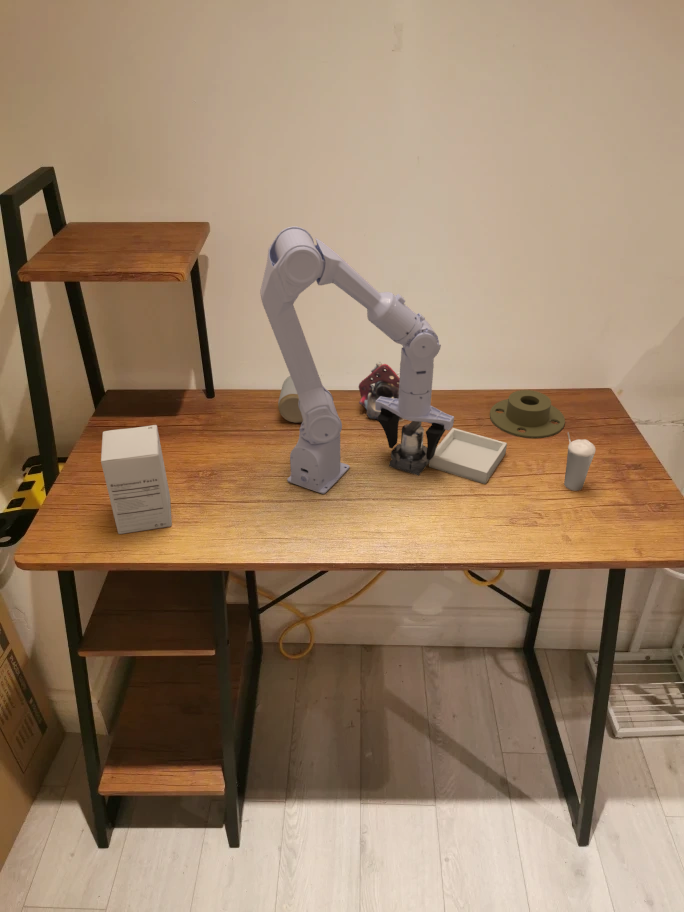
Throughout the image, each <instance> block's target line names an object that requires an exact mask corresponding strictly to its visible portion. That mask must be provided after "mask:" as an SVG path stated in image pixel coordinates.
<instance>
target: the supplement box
mask: <svg viewBox="0 0 684 912" xmlns="http://www.w3.org/2000/svg"><path fill="white" fill-rule="evenodd" d="M101 438H102V440H101V456H100V463H101V467H102V471H103V477H104V480H105V484H106V488H107V492H108V497H109V501H110V505H111V511H112V514H113V519H114V522H115V526H116V530H117V534H118V535H123V534H128V533H129V534H130V533H135V532H143V531H149V530H154V529H155V530H156V529H161V528H167V527H169V528H170V527H172V523H173V522H172V506H171V505H172V504H171V493H170V489H169V483H168V478H167V472H166V467H165V462H164V457H163V452H162V451H163V450H162V445H161V442H160V441H161V439H160V435H159V429H158V425H157V424H153V425H146V426H139V427H129V428H119V429H111V430H105V431H102V437H101Z"/></svg>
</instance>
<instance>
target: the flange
mask: <svg viewBox="0 0 684 912" xmlns="http://www.w3.org/2000/svg"><path fill="white" fill-rule="evenodd" d="M498 411H499V412H498ZM500 412H501V413H500ZM489 418H490V421H491V422H492V424H493V425H494V426H495V427H496V428H497V429H499V430H500V431H502V432H504V433H505V434H509V435H511V436H514V437H519V438H523V439H544V438H549V437H550V438H551V437H552V436H555V435H557V434H559V433H560V432H562V430H563V429H564V427H565V423H566V419H565V416H564V414H563V413H562V411H560V409H558V408H557V407H555V406H554V405H553V404H552V401H551V399H550V397H549V396H548V395H546V394H544V393H542V392H539V391H537V390H531V389H521V390H520V389H519V390H516V391H513V392H512V393H510V394H509V396H508V398H507V399H503V400H500V401H498V402H496V403H495V404H494V405H492V407H491V408H490V411H489ZM553 422H555V423H553ZM520 430H522V431H525V432H521V431H520Z"/></svg>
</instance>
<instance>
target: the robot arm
mask: <svg viewBox="0 0 684 912" xmlns="http://www.w3.org/2000/svg"><path fill="white" fill-rule="evenodd" d="M314 239H315V242H316V244H315V242H314ZM263 273H264V274H263V278H262V281H261V282H262V283H261V288H260V293H259V294H260V299H261V300H260V301H261V303H262V306H263V309H264V311H265V314H266V317H267V319H268V322H269V324H270V326H271V329H272V332H273V335H274V337H275V340H276V342H277V345H278V347H279V350H280V351H281V355H282V357H283V361H284V363H285V365H286V368H287V370H288V372H289V373H288V374H289V376H291V378H292V381H293V383H294V386H295V388H296V391H297V394H298V396H299V402H298V406H299V409H300V411H301V414H302V418H303V422H301V424H300V427H299V435H298V440H297V442H296V445H295V446H294V447H293V448H292V449H291V451H290V454H289V461H290V463H289V464H290V466H289V467H290V476H289V477H287V478H286V481H287V482H288V483H291V484H293V485H297V486H299V487H302V488H304V489H308V490H311V491H314V492H316V493H319V494H322V495H325V494H326V493H327V492H328V491H329V490H331V488H332V487H333V486H334V485H335V484H336V483H337V482H338V481H339V480H340V479H341V478H342V477H343V475H344V474H345V473H346V472H347V471H349V469H350V465H349V464H346V463H344V462H341V433H342V428H343V423H342V420H341V418H340V416H339V415H338V414H339V413H338V412H337V409H336V405H335V403H334V397H333V395H332V393H331V392H330V391H329V390H328V389H326V387H325V386H324V385H323V383H322V379H321V377H320V375H319V372H318V369H317V367H316V364H315V361H314V358H313V356H312V352H311V350H310V347H309V345H308V342H307V338H306V337H305V333H304V331H303V329H302V325H301V323H300V320H299V317H298V314H297V311H296V309H295V306H294V304H295V302H296V300H297V299H298V298H299V295H300V294H301V293H303V292H304V291H305V290H307V289H308V288H309V287H311V285H313V284H314V283H315V282H316V284H317V286H324V285H329V284H333V285H335V286H337V287H338V288H339V289H340V290H342V291H343V292H344V293H346V294H347V295H349V297H351V298H352V299H353V300H355V301H356V302H358V304H360V306H363V307H364V308H365V309H366V311H367V313H366V315H367V316H366V317H367V320H368V321H369V322H370V323H371V324H372V325H374V326H375V327H376V328H377V329H379V330H380V331H381V332H382V333H383V334H385V336H387V337H388V338H389V339H390V340H392V341H393V342H394V343H396V344H399V345H402V347H401V352H400V353H401V354H400V364H399V378H400V379H399V399H396V398H386V397H381V396H380V397H379V398H378V399H377V400H376V403H375V410H378V411H381V412H380V415H379V416H378V419H377V421H378V423H379V424H380V426H381V428H382V429H383V430H384V433H385V437H386V440H387V444H388V448H390V449H394V448H395V447H396V446H397V445H398V444H397V443H398V438H399V436H398V435H399V423H400V421H399V418H400V417H401V418H403V419H405V420H406V421H410V422H412V421H419V422H422V423H428V424H431V426H429V427H428V428H427V429H426V430H425V435H426V444H427V445H426V447H427V454H426V457H427V459H428V460H431V459H432V457H433V456H434V454H435V451H436V448H437V446H438V445H439V444H440V440H441V438H442V436H443V435H444V433H445V432H446V431H448V432H450V430H451V429H452V428H453V426H454V421H455V416H454V415H450V414H448V413H446V412H444V411H443V410H440V409H438V408H437V407H434V406H433V405H431V404H432V393H433V391H432V390H433V377H434V368H435V367H434V366H435V365H434V364H435V363H434V361H435V358H436V356H437V355H439V353H440V350H441V347H442V345H441V344H440V340H439V337H438V335H437V333H436V332H435V330H434V329H433V328H432V325H431V324H430V323H429V321H428V320H426V317H424V316H423V315H422V314H421V312H418V313H416V312H414V310H413V309H412V308H410V306H408V305H406V299H405V297H403V296H402V295H401V294H400V293H396V295H395V293H393V292H391V291H381V292H379V291H378V290H377V289H376V288H375V287H374V286H373V285H372V284H370V283H369V281H368V280H367V279H365V278H364V277H363V276H362V275H361V274H360V273H359V272H357V270H355V268H353V267H352V266H351V265H350V264H349V263H348V262H347V261H346V260H344V259H343V257H341V256H340V255H339V253H337V252H336V251H334V250H333V249H332V248H331V247H330V246H328V245H327V244H326V243H324V242H323V241H322V240H320V239H319V238H317V237H315V238H313V236H312V235H311V234H310V232H309V231H308V230H307V229H305V228H303V227H300V226H297V225H293V226H287V227H285V228H283V229H281V231H279V232H278V233H277V235H276V236H275V238H274V240H273V241H272V242H271V244H270V246H269V247H268V249H267V260H266V265H265V269H264V272H263ZM405 420H404V421H405Z"/></svg>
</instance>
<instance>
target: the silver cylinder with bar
mask: <svg viewBox="0 0 684 912" xmlns="http://www.w3.org/2000/svg"><path fill="white" fill-rule="evenodd" d="M422 423H423V422H419V421H410V422H409V423H407V424H404V425H403V426H402V427H401V434H400V440H401V441H400V444H401V453H400V458H401V459H404V460H408V461H416V460H421V459H422V449H423V445H424V433H425V429H424V427H423V426H422Z"/></svg>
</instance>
